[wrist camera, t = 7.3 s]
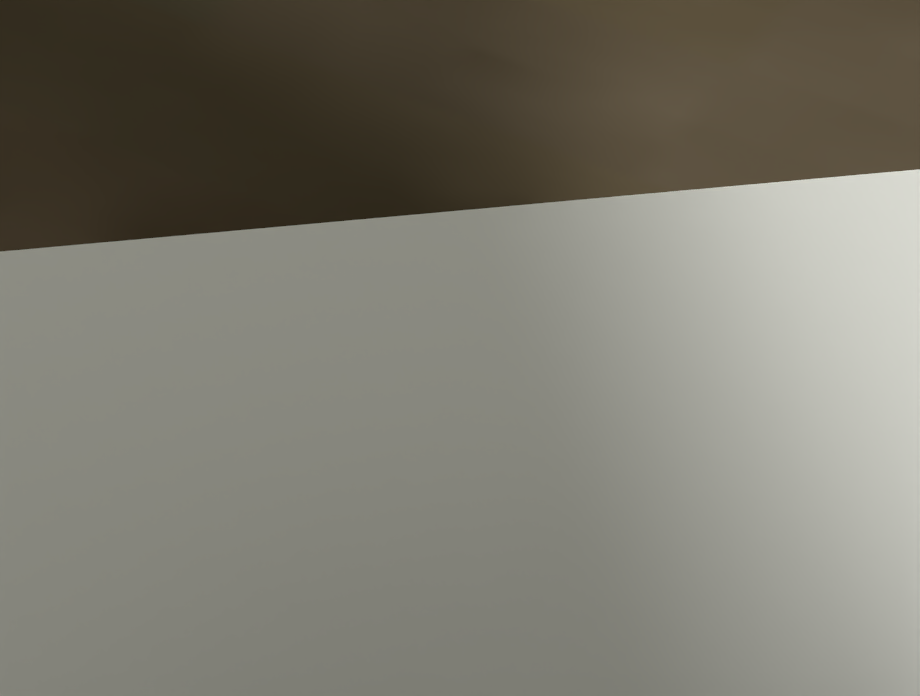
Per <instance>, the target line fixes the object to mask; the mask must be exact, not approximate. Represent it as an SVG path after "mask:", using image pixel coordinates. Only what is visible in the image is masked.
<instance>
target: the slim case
mask: <svg viewBox="0 0 920 696" xmlns="http://www.w3.org/2000/svg"><path fill="white" fill-rule="evenodd" d="M0 696H920V169H919V170H908V171H897V172H886V173H875V174H863V175H852V176H841V177H830V178H819V179H807V180H796V181H785V182H774V183H763V184H752V185H740V186H729V187H718V188H707V189H696V190H684V191H673V192H662V193H651V194H640V195H628V196H617V197H606V198H595V199H584V200H572V201H561V202H550V203H539V204H528V205H517V206H505V207H494V208H483V209H472V210H461V211H449V212H438V213H427V214H416V215H405V216H393V217H382V218H371V219H360V220H349V221H337V222H326V223H315V224H304V225H293V226H282V227H270V228H259V229H248V230H237V231H226V232H214V233H203V234H192V235H181V236H170V237H158V238H147V239H136V240H125V241H114V242H102V243H91V244H80V245H69V246H58V247H47V248H35V249H24V250H13V251H2V252H0Z"/></svg>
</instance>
